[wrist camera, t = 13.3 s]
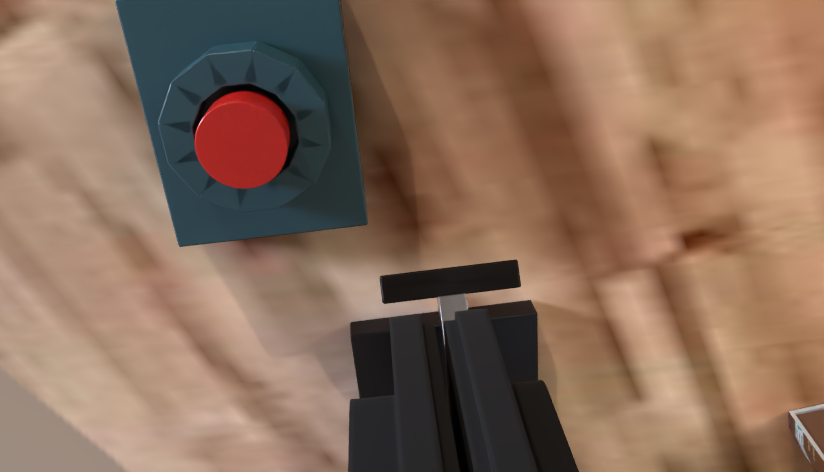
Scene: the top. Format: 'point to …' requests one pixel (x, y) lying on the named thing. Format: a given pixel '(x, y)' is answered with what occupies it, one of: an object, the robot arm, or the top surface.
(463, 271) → the lever
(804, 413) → the food container
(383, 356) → the bracket
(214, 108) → the button
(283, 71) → the button block
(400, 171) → the top surface
